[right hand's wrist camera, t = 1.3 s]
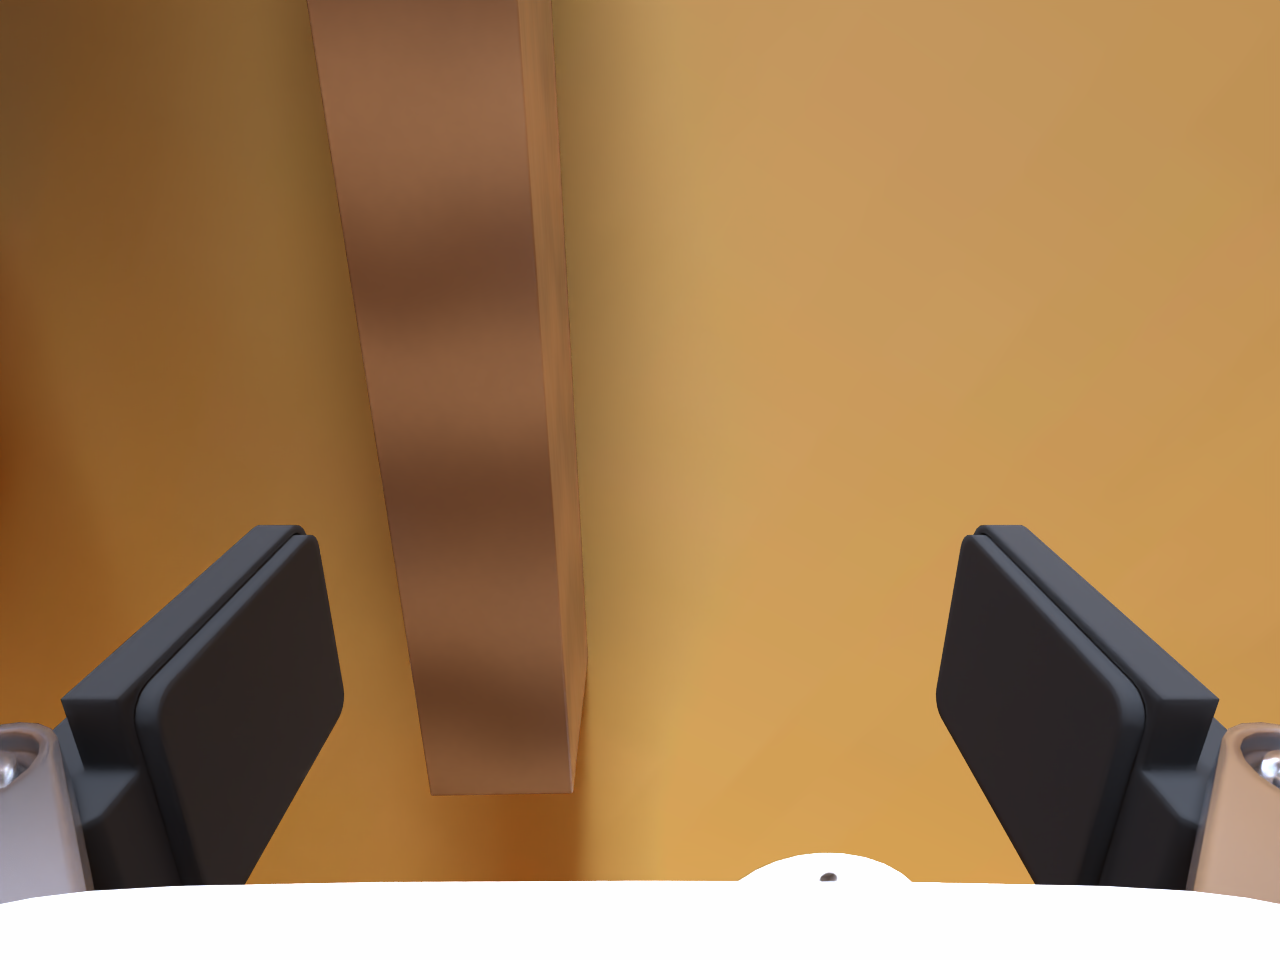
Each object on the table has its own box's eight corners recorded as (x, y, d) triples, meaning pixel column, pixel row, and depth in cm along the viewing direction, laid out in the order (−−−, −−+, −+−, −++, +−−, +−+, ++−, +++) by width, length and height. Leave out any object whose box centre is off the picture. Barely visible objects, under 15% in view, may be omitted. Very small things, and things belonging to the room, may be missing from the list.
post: (588, 658, 36) (573, 794, 28) (477, 660, 36) (430, 796, 28) (479, -1296, 17) (335, -2616, 9) (246, -1288, 17) (-103, -2594, 9)
